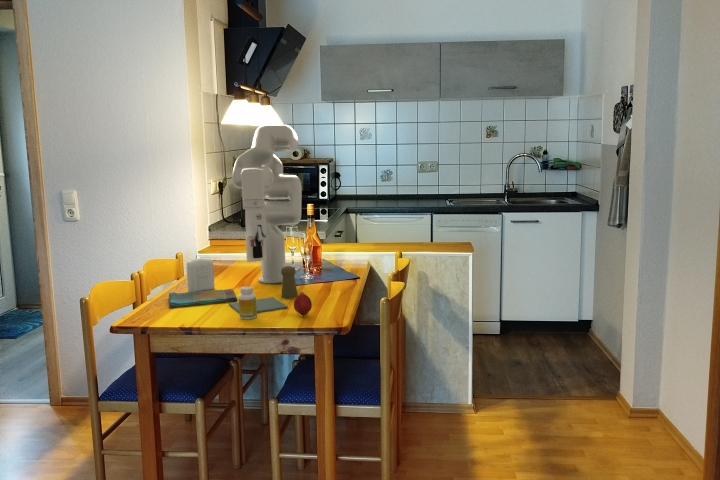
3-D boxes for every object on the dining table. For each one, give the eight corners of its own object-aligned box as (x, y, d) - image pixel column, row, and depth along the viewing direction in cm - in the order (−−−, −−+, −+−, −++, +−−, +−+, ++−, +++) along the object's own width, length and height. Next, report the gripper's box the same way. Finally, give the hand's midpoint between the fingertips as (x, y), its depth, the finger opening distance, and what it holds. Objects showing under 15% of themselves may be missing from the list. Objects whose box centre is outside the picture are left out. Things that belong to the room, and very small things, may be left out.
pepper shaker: (300, 295, 244) (299, 265, 242) (293, 299, 239) (292, 268, 237) (285, 294, 246) (284, 264, 244) (278, 298, 241) (276, 268, 239)
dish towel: (168, 298, 248) (167, 291, 247) (233, 292, 254) (232, 285, 254) (168, 310, 232) (168, 303, 231) (238, 303, 238) (237, 296, 237)
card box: (264, 259, 237) (263, 234, 236) (266, 260, 235) (265, 234, 234) (246, 261, 234) (245, 235, 233) (248, 262, 232) (247, 236, 231)
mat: (273, 298, 240) (273, 296, 240) (287, 308, 227) (287, 306, 227) (229, 305, 233) (228, 303, 233) (241, 315, 220) (241, 313, 220)
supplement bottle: (256, 319, 215) (254, 289, 213) (239, 320, 215) (237, 290, 213) (257, 314, 220) (255, 285, 219) (240, 315, 220) (238, 286, 218)
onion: (294, 313, 220) (293, 289, 219) (312, 312, 220) (311, 288, 219) (294, 318, 214) (292, 294, 213) (312, 317, 215) (311, 293, 213)
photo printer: (212, 287, 261) (210, 255, 259) (216, 289, 258) (214, 257, 255) (186, 291, 256) (184, 259, 253) (190, 293, 252) (187, 261, 250)
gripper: (271, 205, 226) (274, 259, 229) (257, 202, 240) (260, 253, 243) (249, 206, 223) (252, 261, 226) (236, 203, 237) (239, 255, 240)
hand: (256, 256), depth 234 cm, fingers closed on card box, 2 cm apart
